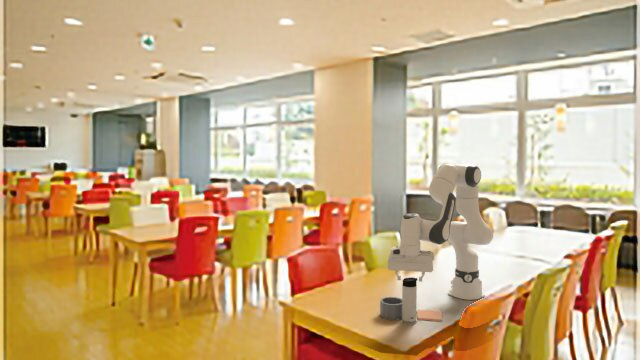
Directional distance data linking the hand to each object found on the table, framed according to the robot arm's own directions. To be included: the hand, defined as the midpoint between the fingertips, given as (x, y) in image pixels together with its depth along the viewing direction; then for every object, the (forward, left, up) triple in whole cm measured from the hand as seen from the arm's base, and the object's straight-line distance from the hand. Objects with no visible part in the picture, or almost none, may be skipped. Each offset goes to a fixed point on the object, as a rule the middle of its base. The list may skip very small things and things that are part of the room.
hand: (409, 280), depth 205 cm
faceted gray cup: (-6, -8, -19) cm, 21 cm away
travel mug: (0, 0, -19) cm, 19 cm away
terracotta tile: (-9, +9, -19) cm, 23 cm away
